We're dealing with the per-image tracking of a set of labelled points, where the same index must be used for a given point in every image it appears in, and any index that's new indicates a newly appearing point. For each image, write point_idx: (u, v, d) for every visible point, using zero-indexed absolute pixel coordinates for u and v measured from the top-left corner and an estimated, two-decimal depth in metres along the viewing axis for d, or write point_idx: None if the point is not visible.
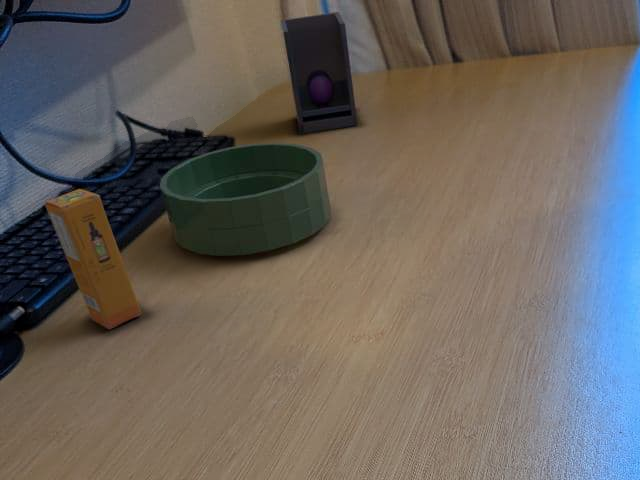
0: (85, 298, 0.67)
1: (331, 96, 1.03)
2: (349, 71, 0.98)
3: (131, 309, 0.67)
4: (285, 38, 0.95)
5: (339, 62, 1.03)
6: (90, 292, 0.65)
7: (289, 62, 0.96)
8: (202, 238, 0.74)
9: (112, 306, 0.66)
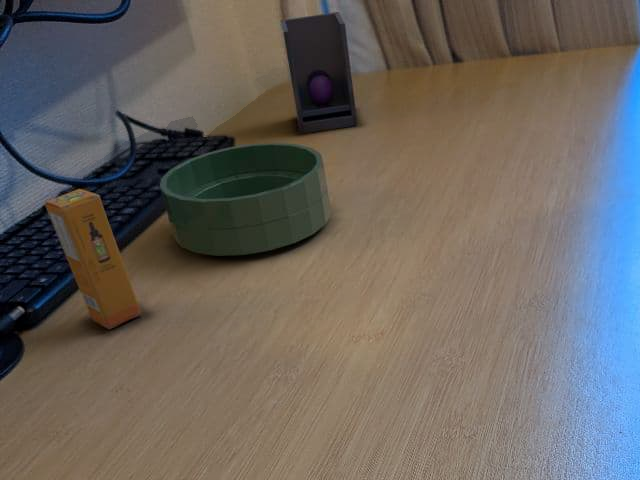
0: (85, 298, 0.67)
1: (331, 96, 1.03)
2: (349, 71, 0.98)
3: (131, 309, 0.67)
4: (285, 38, 0.95)
5: (339, 62, 1.03)
6: (90, 292, 0.65)
7: (289, 62, 0.96)
8: (202, 238, 0.74)
9: (112, 306, 0.66)
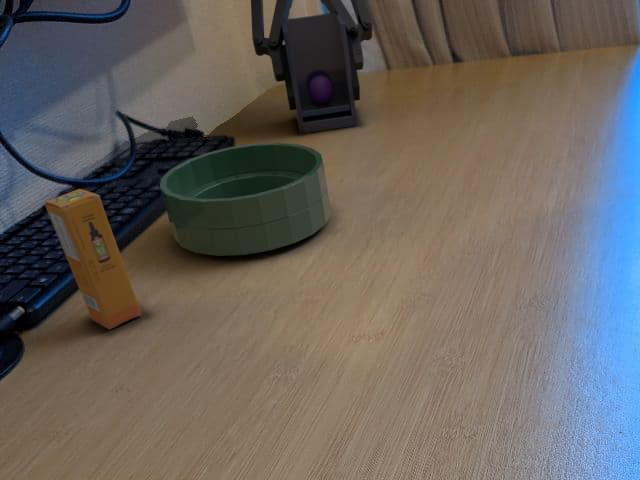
0: (85, 298, 0.67)
1: (331, 96, 1.03)
2: (349, 71, 0.98)
3: (131, 309, 0.67)
4: (285, 38, 0.95)
5: (339, 62, 1.03)
6: (90, 292, 0.65)
7: (289, 62, 0.96)
8: (202, 238, 0.74)
9: (112, 306, 0.66)
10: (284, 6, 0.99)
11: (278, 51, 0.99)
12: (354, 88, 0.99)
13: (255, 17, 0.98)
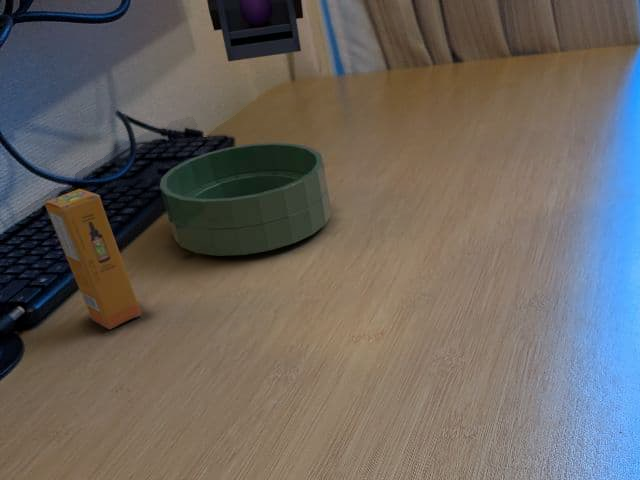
0: (85, 298, 0.67)
1: (268, 15, 0.82)
2: None
3: (131, 309, 0.67)
4: None
5: None
6: (90, 292, 0.65)
7: None
8: (202, 238, 0.74)
9: (112, 306, 0.66)
10: None
11: None
12: (294, 0, 0.77)
13: None
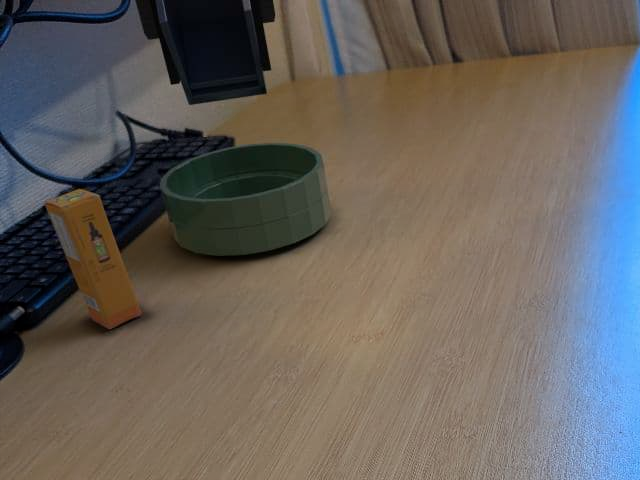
0: (85, 298, 0.67)
1: None
2: (257, 51, 0.69)
3: (131, 309, 0.67)
4: (163, 28, 0.64)
5: None
6: (90, 292, 0.65)
7: (170, 48, 0.67)
8: (202, 238, 0.74)
9: (112, 306, 0.66)
10: None
11: None
12: (264, 70, 0.71)
13: None
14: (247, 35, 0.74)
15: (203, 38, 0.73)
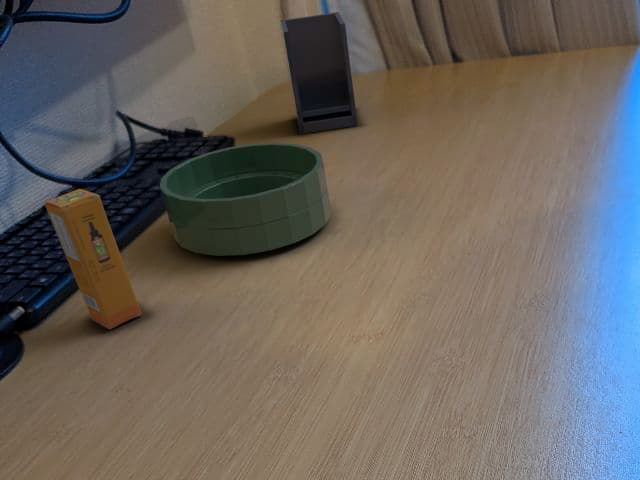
0: (85, 298, 0.67)
1: None
2: (349, 71, 0.98)
3: (131, 309, 0.67)
4: (285, 38, 0.95)
5: (339, 62, 1.03)
6: (90, 292, 0.65)
7: (289, 62, 0.96)
8: (202, 238, 0.74)
9: (112, 306, 0.66)
10: None
11: None
12: None
13: None
14: (345, 101, 1.04)
15: (314, 105, 1.04)
